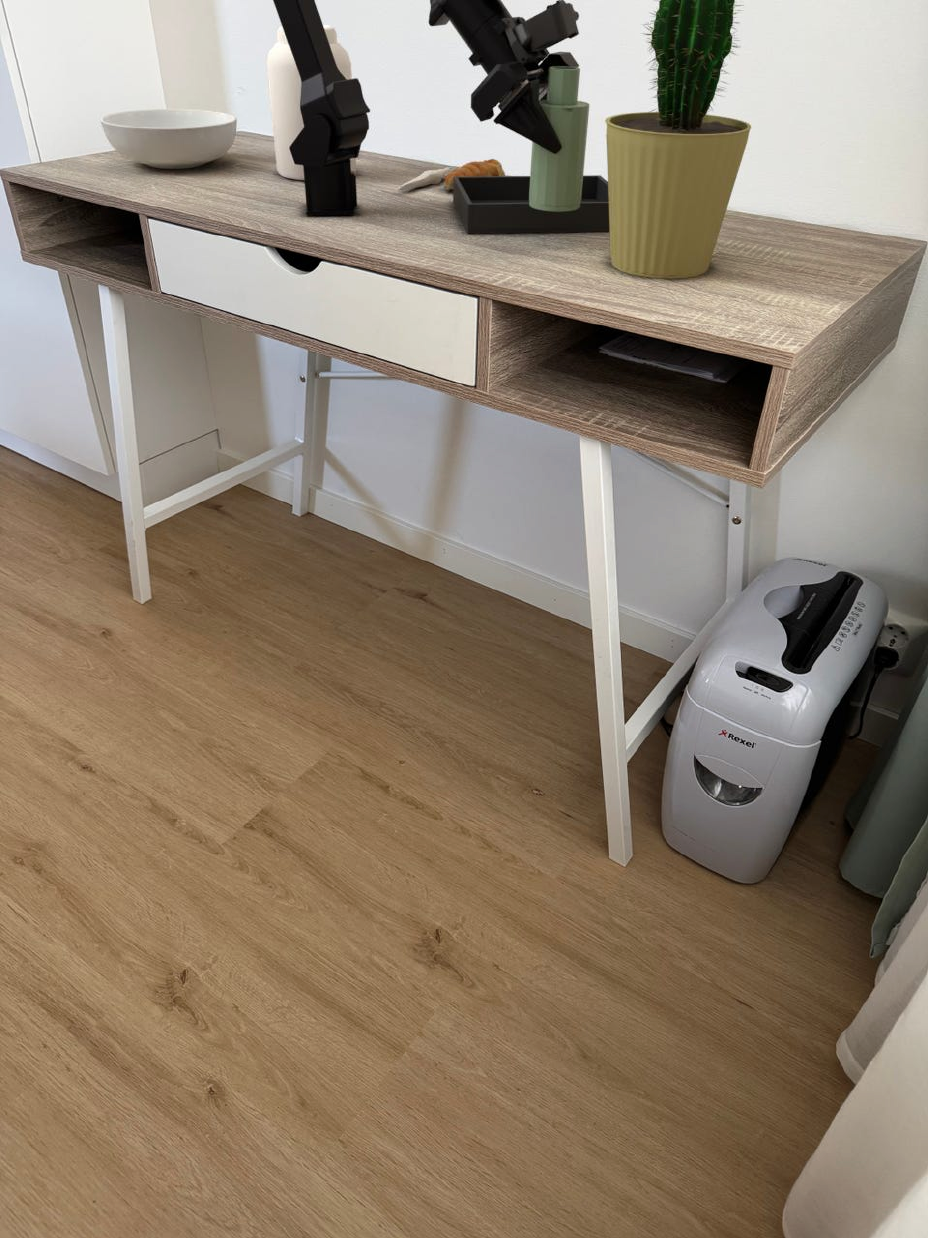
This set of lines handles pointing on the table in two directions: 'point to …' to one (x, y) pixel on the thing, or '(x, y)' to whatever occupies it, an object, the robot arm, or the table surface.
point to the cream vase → (294, 98)
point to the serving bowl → (170, 136)
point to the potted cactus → (676, 149)
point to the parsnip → (426, 179)
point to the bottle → (562, 172)
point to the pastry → (475, 171)
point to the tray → (526, 206)
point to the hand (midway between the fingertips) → (569, 146)
